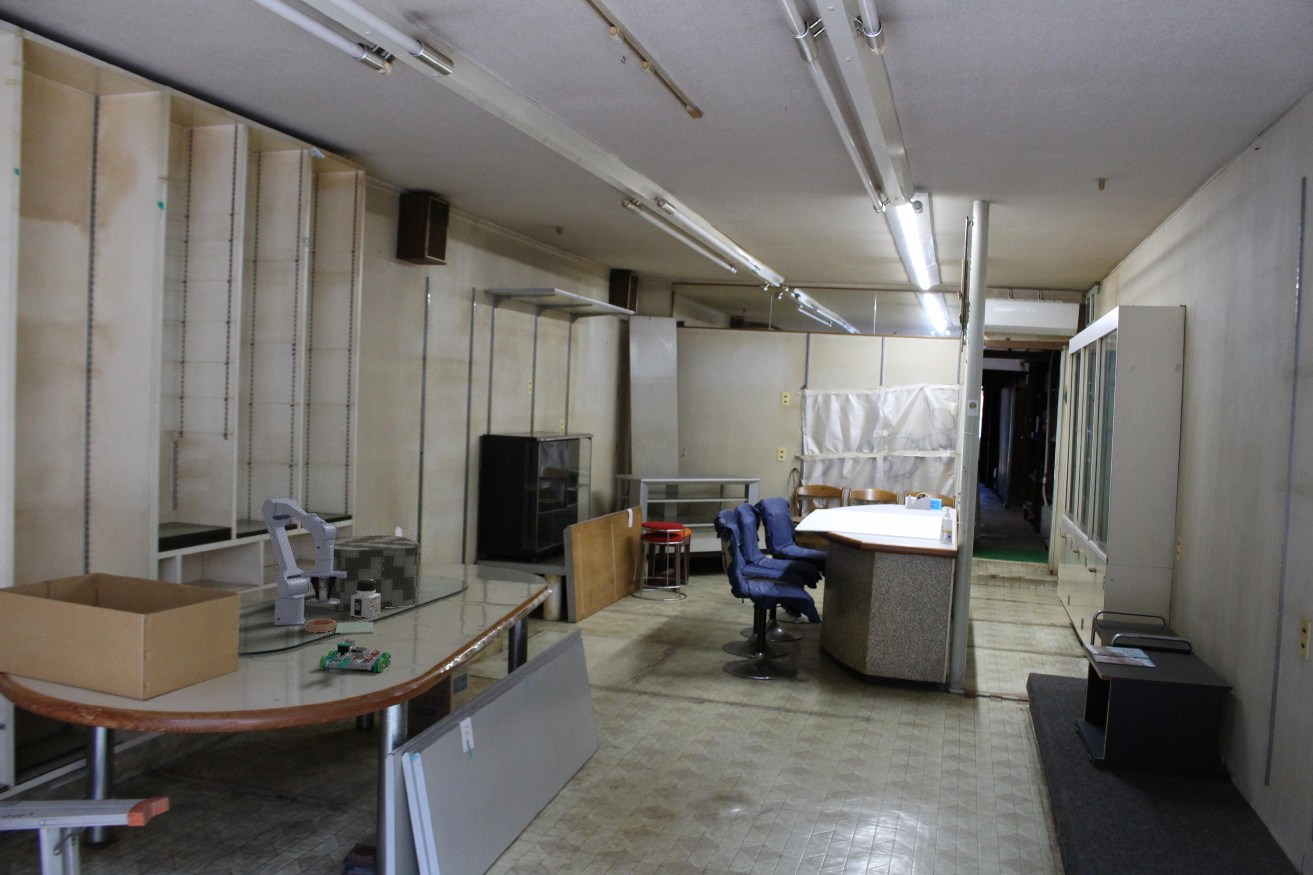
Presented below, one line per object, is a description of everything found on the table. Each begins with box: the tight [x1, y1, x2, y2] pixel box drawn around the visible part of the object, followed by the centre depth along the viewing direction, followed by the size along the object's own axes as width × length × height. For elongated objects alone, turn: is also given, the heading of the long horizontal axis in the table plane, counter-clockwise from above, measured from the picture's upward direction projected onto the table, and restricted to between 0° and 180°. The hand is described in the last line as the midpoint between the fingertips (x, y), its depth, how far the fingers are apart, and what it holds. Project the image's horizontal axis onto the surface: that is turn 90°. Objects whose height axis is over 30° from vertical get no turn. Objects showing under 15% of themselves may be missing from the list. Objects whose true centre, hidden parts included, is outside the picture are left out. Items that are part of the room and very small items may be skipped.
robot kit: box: [319, 638, 392, 674], centre depth 260 cm, size 19×25×9 cm
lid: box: [305, 588, 340, 608], centre depth 305 cm, size 11×11×5 cm
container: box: [350, 579, 381, 619], centre depth 329 cm, size 8×8×13 cm
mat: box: [334, 621, 374, 635], centre depth 309 cm, size 12×14×1 cm
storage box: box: [319, 534, 422, 612], centre depth 353 cm, size 35×35×23 cm
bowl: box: [304, 618, 337, 634], centre depth 305 cm, size 10×10×2 cm
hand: (323, 599), depth 305 cm, fingers closed on lid, 3 cm apart
